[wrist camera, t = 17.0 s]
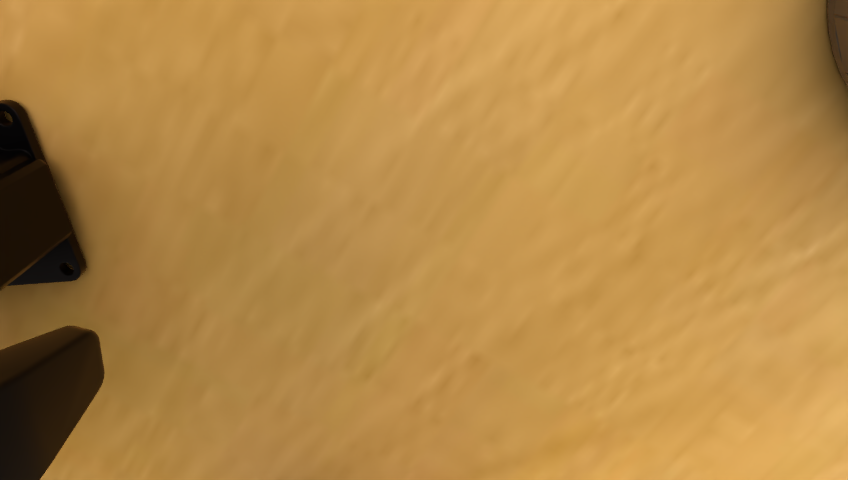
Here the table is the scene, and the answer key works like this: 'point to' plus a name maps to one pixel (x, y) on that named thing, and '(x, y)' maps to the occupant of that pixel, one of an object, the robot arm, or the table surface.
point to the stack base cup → (839, 34)
